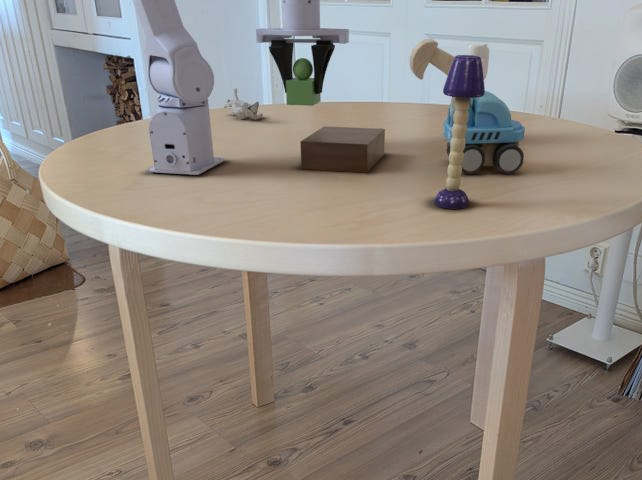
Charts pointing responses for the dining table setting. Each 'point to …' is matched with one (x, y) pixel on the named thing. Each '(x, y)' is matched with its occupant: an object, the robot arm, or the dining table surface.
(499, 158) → the toy excavator
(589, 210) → the dining table surface
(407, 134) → the dining table surface
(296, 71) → the green toy
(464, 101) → the toy lamp
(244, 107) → the toy cat
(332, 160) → the walnut block
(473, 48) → the figurine
